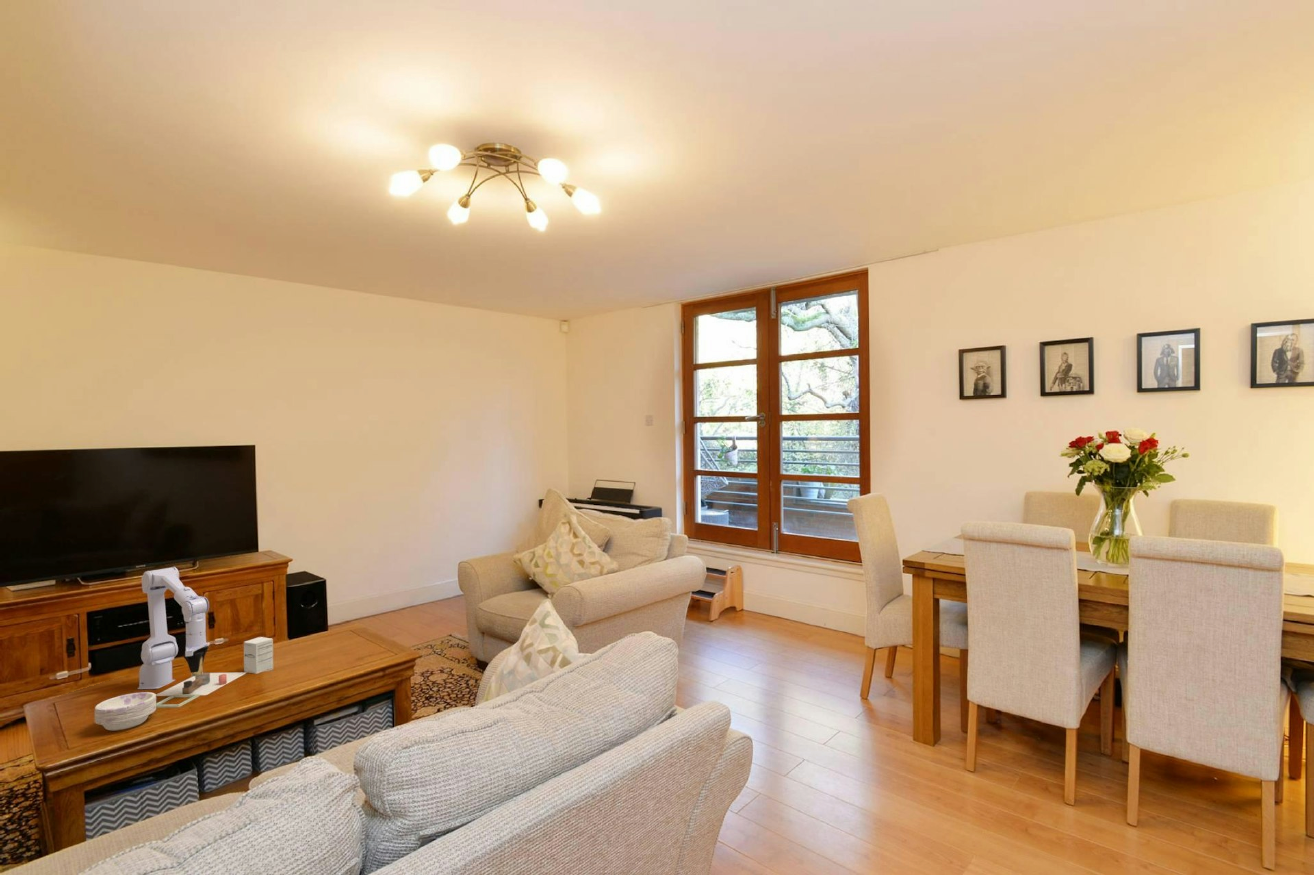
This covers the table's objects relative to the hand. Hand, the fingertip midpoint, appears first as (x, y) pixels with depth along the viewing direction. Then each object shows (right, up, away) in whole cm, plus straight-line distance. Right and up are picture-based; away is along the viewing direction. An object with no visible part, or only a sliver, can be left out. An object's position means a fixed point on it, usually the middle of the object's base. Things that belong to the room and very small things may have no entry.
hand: (196, 670), depth 223 cm
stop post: (+3, -9, +9) cm, 14 cm away
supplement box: (+7, -10, +24) cm, 27 cm away
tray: (-2, -9, -6) cm, 12 cm away
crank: (-4, -8, +6) cm, 11 cm away
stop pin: (0, -2, 0) cm, 2 cm away
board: (-5, -10, +10) cm, 15 cm away
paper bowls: (-7, -10, -22) cm, 25 cm away
